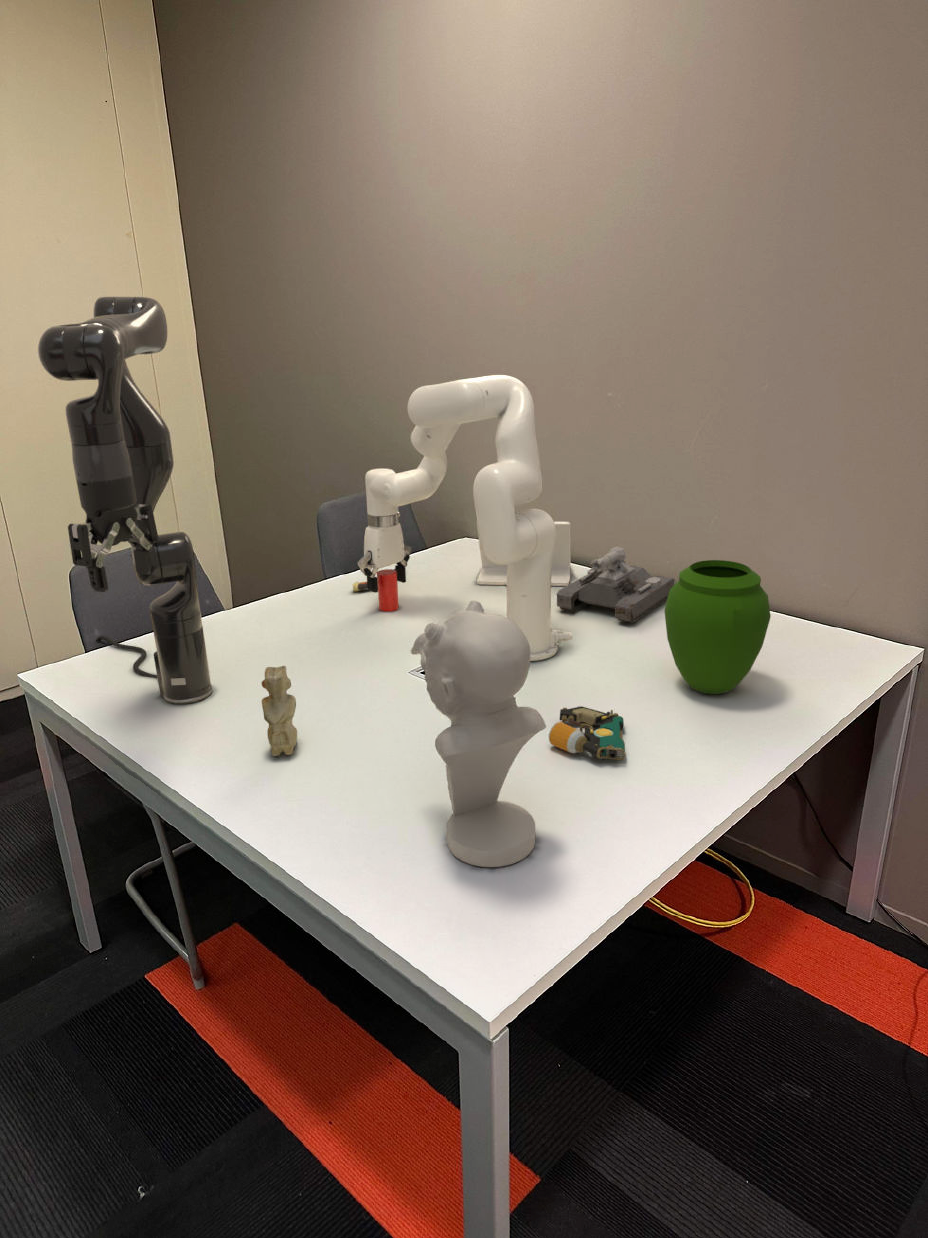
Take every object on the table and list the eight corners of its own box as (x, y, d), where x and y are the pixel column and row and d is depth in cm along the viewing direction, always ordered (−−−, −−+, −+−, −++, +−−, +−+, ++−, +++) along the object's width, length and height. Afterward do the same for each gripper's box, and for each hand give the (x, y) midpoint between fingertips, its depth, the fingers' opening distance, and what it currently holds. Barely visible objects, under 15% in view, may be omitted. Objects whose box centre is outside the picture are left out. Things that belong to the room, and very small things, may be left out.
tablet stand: (569, 585, 229) (570, 524, 223) (476, 584, 232) (475, 523, 226) (570, 566, 246) (571, 508, 240) (484, 564, 249) (483, 507, 243)
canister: (375, 610, 216) (373, 574, 212) (385, 604, 220) (382, 568, 217) (393, 612, 214) (390, 576, 210) (402, 606, 218) (400, 570, 215)
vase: (773, 678, 171) (786, 561, 163) (746, 717, 156) (759, 591, 147) (679, 659, 181) (686, 549, 173) (645, 694, 166) (651, 575, 157)
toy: (603, 584, 229) (605, 530, 224) (673, 597, 218) (677, 540, 213) (555, 612, 210) (556, 553, 205) (630, 627, 199) (633, 566, 194)
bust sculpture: (481, 772, 140) (476, 569, 128) (565, 848, 120) (569, 617, 108) (392, 800, 134) (378, 588, 121) (465, 886, 114) (457, 642, 101)
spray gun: (565, 715, 160) (645, 732, 154) (534, 751, 146) (620, 771, 140) (567, 694, 159) (647, 710, 153) (536, 729, 144) (623, 748, 138)
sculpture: (303, 738, 153) (295, 661, 148) (297, 758, 146) (289, 679, 141) (270, 740, 153) (261, 663, 148) (263, 760, 146) (253, 680, 141)
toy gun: (349, 584, 228) (385, 580, 226) (370, 567, 246) (403, 564, 244) (351, 593, 229) (387, 590, 227) (371, 576, 246) (404, 573, 244)
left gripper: (121, 463, 129) (139, 566, 135) (43, 482, 117) (66, 594, 123) (160, 466, 126) (176, 571, 132) (84, 485, 114) (105, 600, 120)
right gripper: (398, 511, 217) (401, 575, 223) (346, 525, 205) (351, 592, 211) (419, 515, 212) (421, 580, 219) (367, 529, 200) (371, 598, 207)
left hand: (123, 582), depth 127 cm, fingers open, 8 cm apart
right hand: (387, 586), depth 215 cm, fingers open, 9 cm apart
